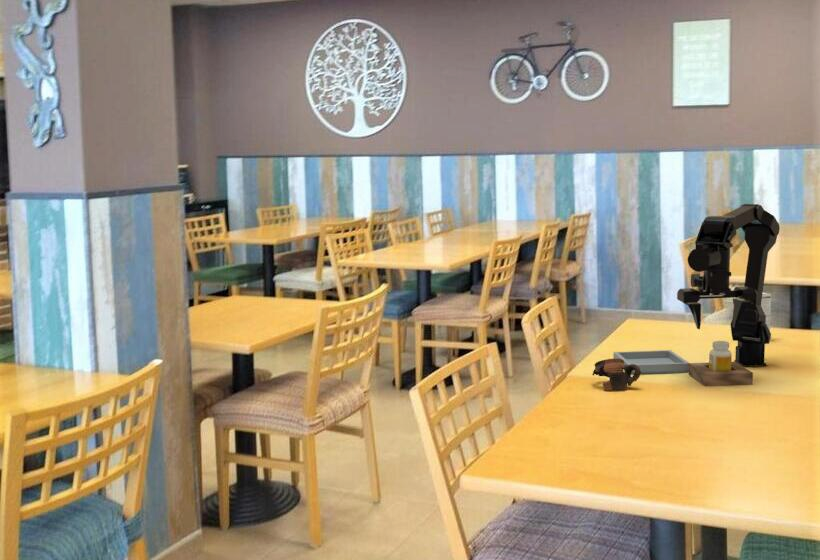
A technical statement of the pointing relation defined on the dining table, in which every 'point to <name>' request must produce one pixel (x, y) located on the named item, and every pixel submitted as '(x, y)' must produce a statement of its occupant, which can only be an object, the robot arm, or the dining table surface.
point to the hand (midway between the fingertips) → (716, 328)
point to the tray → (654, 361)
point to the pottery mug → (616, 373)
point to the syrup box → (766, 307)
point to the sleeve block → (720, 375)
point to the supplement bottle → (720, 357)
